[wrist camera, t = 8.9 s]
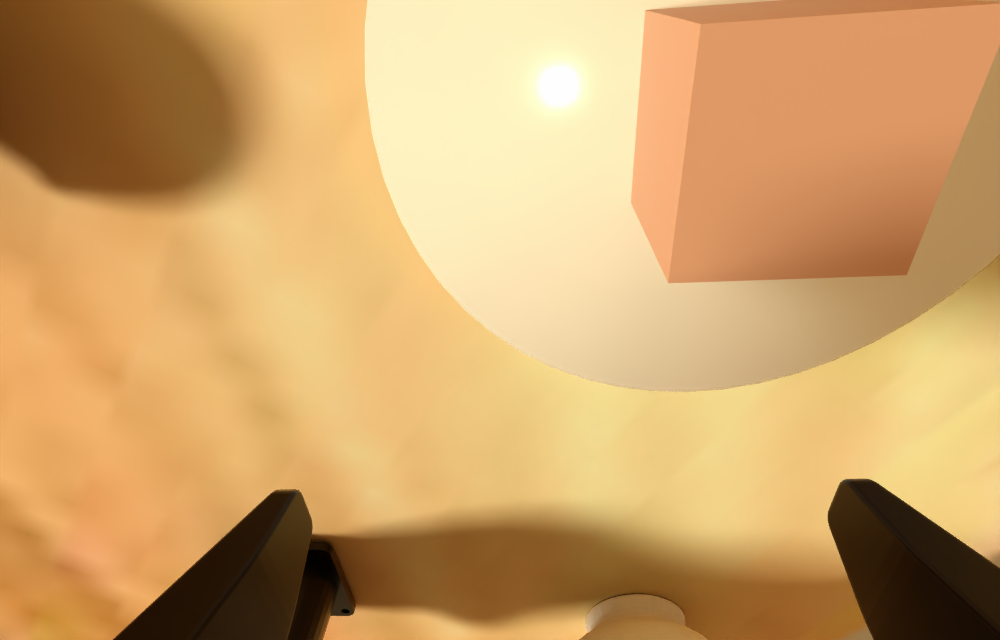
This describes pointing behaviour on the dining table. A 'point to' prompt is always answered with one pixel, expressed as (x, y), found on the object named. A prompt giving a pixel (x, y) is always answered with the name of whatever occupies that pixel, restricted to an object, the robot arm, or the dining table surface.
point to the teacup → (638, 620)
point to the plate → (612, 201)
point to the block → (802, 132)
